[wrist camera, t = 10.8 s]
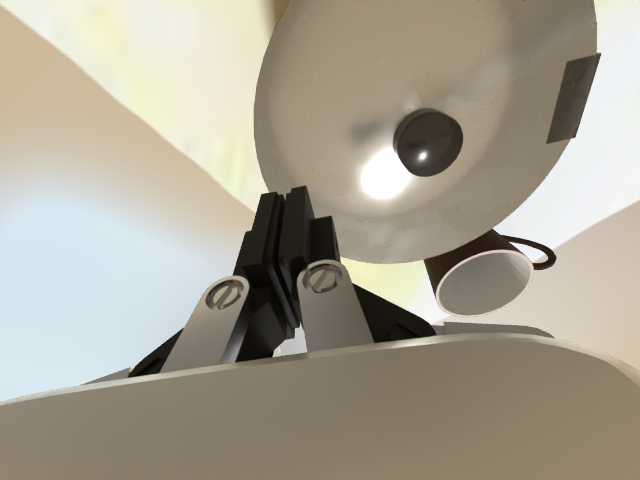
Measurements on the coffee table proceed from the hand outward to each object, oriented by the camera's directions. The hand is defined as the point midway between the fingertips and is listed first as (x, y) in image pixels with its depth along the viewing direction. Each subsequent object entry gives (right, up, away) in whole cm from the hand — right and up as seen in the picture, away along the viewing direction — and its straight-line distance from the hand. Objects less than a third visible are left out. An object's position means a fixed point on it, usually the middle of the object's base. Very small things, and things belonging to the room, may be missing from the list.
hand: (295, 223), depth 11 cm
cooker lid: (+6, +5, +5) cm, 10 cm away
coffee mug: (+17, +1, +24) cm, 29 cm away
